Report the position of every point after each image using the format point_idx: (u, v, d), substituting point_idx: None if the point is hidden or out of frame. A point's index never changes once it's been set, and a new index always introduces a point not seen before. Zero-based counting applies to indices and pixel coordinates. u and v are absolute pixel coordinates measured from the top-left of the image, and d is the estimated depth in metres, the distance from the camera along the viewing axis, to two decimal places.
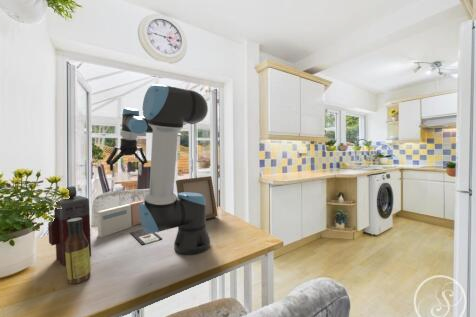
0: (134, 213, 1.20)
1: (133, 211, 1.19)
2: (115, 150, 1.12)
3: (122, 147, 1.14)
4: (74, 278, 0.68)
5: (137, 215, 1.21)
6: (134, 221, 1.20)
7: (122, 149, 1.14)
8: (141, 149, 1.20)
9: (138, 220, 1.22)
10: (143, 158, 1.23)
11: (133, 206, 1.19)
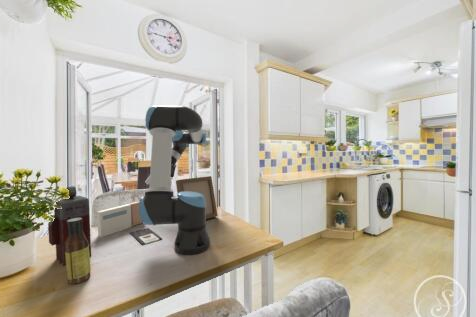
0: (134, 213, 1.20)
1: (133, 211, 1.19)
2: None
3: None
4: (74, 278, 0.68)
5: (137, 215, 1.21)
6: (134, 221, 1.20)
7: None
8: (173, 164, 1.37)
9: (138, 220, 1.22)
10: (170, 171, 1.34)
11: (133, 206, 1.19)
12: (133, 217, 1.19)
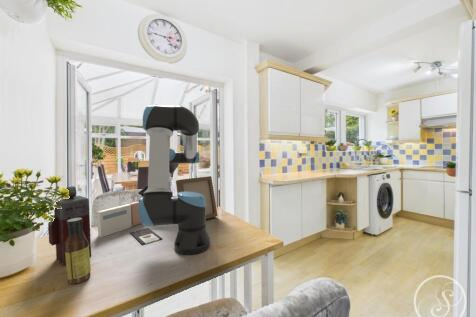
0: (134, 213, 1.20)
1: (133, 211, 1.19)
2: None
3: None
4: (74, 278, 0.68)
5: (137, 215, 1.21)
6: (134, 221, 1.20)
7: None
8: None
9: (138, 220, 1.22)
10: None
11: (133, 206, 1.19)
12: (133, 217, 1.19)
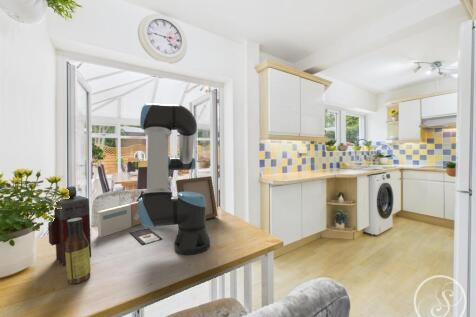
0: (134, 213, 1.20)
1: (133, 211, 1.19)
2: (141, 193, 1.31)
3: None
4: (74, 278, 0.68)
5: None
6: (134, 221, 1.20)
7: None
8: None
9: (138, 220, 1.22)
10: None
11: (133, 206, 1.19)
12: None
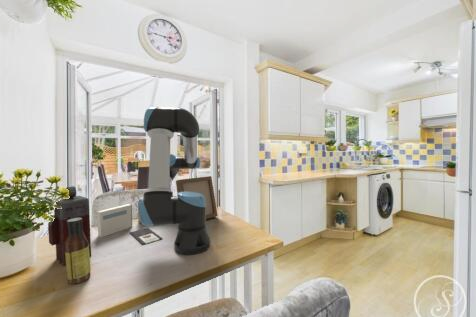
0: None
1: None
2: None
3: None
4: (74, 278, 0.68)
5: None
6: None
7: None
8: None
9: None
10: None
11: None
12: None
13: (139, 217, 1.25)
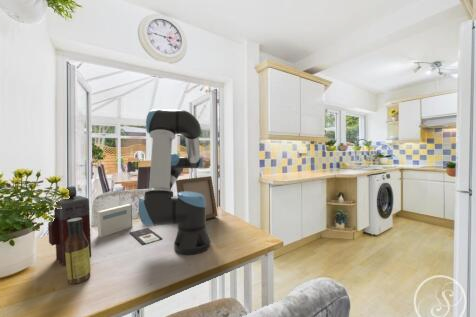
0: None
1: None
2: None
3: None
4: (74, 278, 0.68)
5: None
6: None
7: None
8: None
9: None
10: None
11: None
12: None
13: None
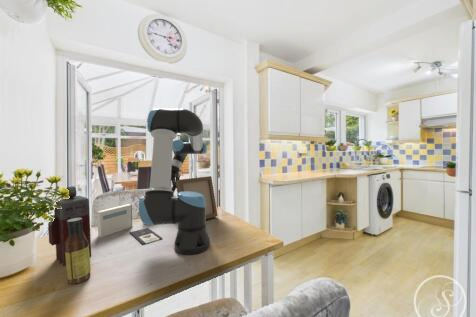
0: None
1: None
2: None
3: None
4: (74, 278, 0.68)
5: None
6: None
7: None
8: (177, 174, 1.40)
9: None
10: (175, 182, 1.37)
11: None
12: None
13: None
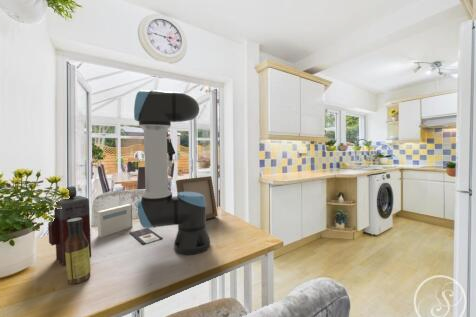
0: None
1: None
2: None
3: None
4: (74, 278, 0.68)
5: None
6: None
7: None
8: (167, 140, 1.28)
9: None
10: (169, 149, 1.28)
11: None
12: None
13: None
